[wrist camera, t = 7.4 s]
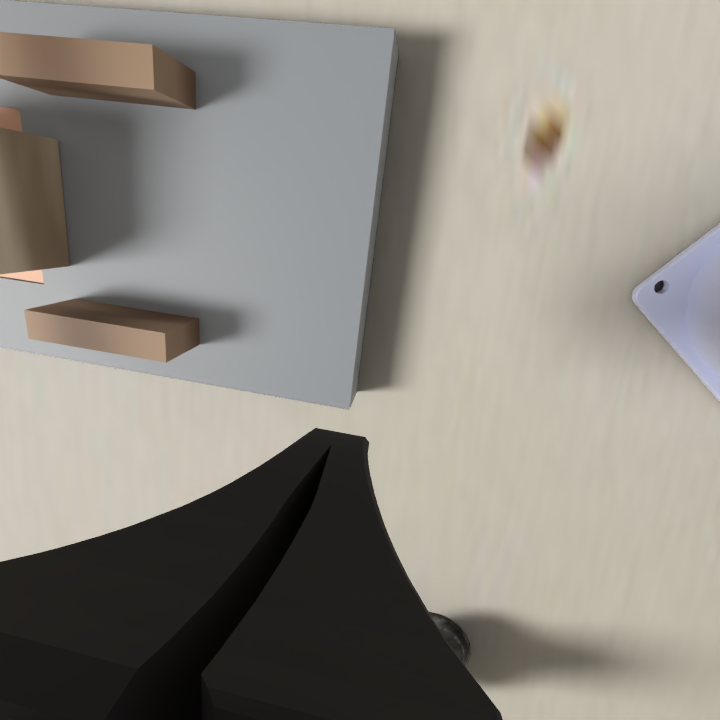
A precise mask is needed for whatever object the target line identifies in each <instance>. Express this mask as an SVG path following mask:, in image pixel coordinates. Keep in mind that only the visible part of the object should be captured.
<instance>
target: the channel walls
mask: <svg viewBox="0 0 720 720" xmlns="http://www.w3.org/2000/svg"><path fill="white" fill-rule="evenodd" d="M0 78H1V79H4V80H7V81H10V82H13V83H16V84H19V85H22V86H25V87H28V88H31V89H34V90H37V91H40V92H43V93H46V94H49V95H54V96H64V97H74V98H84V99H94V100H104V101H114V102H124V103H134V104H144V105H154V106H164V107H174V108H184V109H194V110H196V72H195V71H193V70H192V69H190V68H189V67H187V66H185V65H184V64H182V63H181V62H179V61H178V60H176V59H174V58H173V57H171V56H170V55H168V54H167V53H165V52H163V51H162V50H160V49H159V48H157V47H155V46H154V45H152V44H141V43H129V42H117V41H105V40H93V39H81V38H69V37H56V36H44V35H32V34H20V33H8V32H0ZM24 313H25V319H26V326H27V332H28V338H29V339H33V340H38V341H44V342H50V343H56V344H61V345H67V346H73V347H79V348H84V349H90V350H96V351H102V352H107V353H113V354H119V355H125V356H131V357H136V358H142V359H148V360H154V361H159V362H165V363H167V362H168V361H170V360H172V359H174V358H176V357H178V356H180V355H181V354H183V353H185V352H187V351H189V350H191V349H193V348H194V347H196V346H198V345H200V335H199V318H193V317H186V316H180V315H174V314H168V313H161V312H155V311H149V310H142V309H136V308H130V307H124V306H117V305H111V304H105V303H99V302H92V301H86V300H80V299H71V300H66V301H62V302H57V303H53V304H48V305H44V306H39V307H35V308H30V309H26V310H24Z"/></svg>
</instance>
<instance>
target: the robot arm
mask: <svg viewBox="0 0 720 720" xmlns="http://www.w3.org/2000/svg"><path fill="white" fill-rule="evenodd" d="M661 280H662V281H663V283H664V287H663V288H662V290H661V291H659V292H655V290H654V286H655V284H656V283H657V282H659V281H661ZM632 300H633V302H634V304H635V305H636V306H637V307H638V308H639V309H640V311H641V312H642V313H643V314H644V315H645V316H646V318H647V319H648V320H649V321H650V322H651V323H652V324H653V326H654V327H655V328H656V329H657V330H658V331H659V333H660V334H661V335H662V336H663V337H664V338H665V339H666V341H667V342H668V343H669V344H670V345H671V346H672V348H673V349H674V350H675V351H676V352H677V353H678V354H679V356H680V357H681V358H682V359H683V360H684V361H685V363H686V364H687V365H688V366H689V367H690V368H691V369H692V371H693V372H694V373H695V374H696V375H697V376H698V378H699V379H700V380H701V381H702V382H703V383H704V384H705V386H706V387H707V388H708V389H709V390H710V391H711V393H712V394H713V395H714V396H715V397H716V398H717V399H718V401H719V402H720V223H719V224H718V225H717V226H715V227H714V228H713V229H711V230H710V231H709V232H707V233H706V234H705V235H703V236H702V237H701V238H699V239H698V240H697V241H696V242H694V243H693V244H692V245H690V246H689V247H688V248H686V249H685V250H684V251H682V252H681V253H680V254H678V255H677V256H676V257H674V258H673V259H672V260H671V261H669V262H668V263H667V264H665V265H664V266H663V267H661V268H660V269H659V270H657V271H656V272H655V273H653V274H652V275H651V276H649V277H648V278H647V279H646V280H644V281H643V282H642V283H640V284H639V285H638V286H637V287H636V288H635V289H634V290H633V293H632ZM368 446H369V442H368V440H367V439H366V438H365V437H361V436H356V435H350V434H345V433H340V432H334V431H329V430H323V429H318V428H315V429H314V430H312V431H311V432H309V433H308V434H306V435H305V436H303V437H302V438H300V439H299V440H298V441H296V442H295V443H293V444H292V445H290V446H289V447H288V448H286V449H285V450H283V451H282V452H280V453H279V454H277V455H276V456H274V457H273V458H271V459H270V460H268V461H267V462H265V463H264V464H262V465H261V466H259V467H257V468H256V469H254V470H252V471H250V472H249V473H247V474H245V475H244V476H242V477H240V478H239V479H237V480H235V481H233V482H232V483H230V484H228V485H226V486H224V487H222V488H220V489H218V490H216V491H214V492H212V493H210V494H208V495H206V496H204V497H202V498H199V499H197V500H195V501H193V502H191V503H189V504H186V505H184V506H182V507H179V508H177V509H174V510H172V511H169V512H166V513H164V514H161V515H158V516H156V517H153V518H151V519H148V520H145V521H143V522H140V523H137V524H135V525H132V526H129V527H126V528H123V529H120V530H117V531H114V532H111V533H108V534H105V535H102V536H98V537H95V538H92V539H88V540H85V541H81V542H78V543H75V544H71V545H68V546H64V547H60V548H57V549H53V550H49V551H45V552H41V553H37V554H33V555H29V556H24V557H20V558H16V559H11V560H7V561H3V562H0V720H503V719H502V716H501V713H500V712H499V710H498V709H497V708H496V706H495V705H494V704H493V703H492V701H491V700H490V699H489V697H488V696H487V695H486V693H485V692H484V691H483V690H482V688H481V687H480V686H479V684H478V683H477V682H476V681H475V679H474V678H473V677H472V675H471V674H470V673H469V671H468V670H467V669H466V667H465V666H464V664H463V663H462V662H461V660H460V659H459V658H458V656H457V655H456V653H455V652H454V651H453V649H452V648H451V646H450V645H449V643H448V642H447V640H446V639H445V637H444V636H443V634H442V633H441V631H440V630H439V628H438V627H437V625H436V624H435V622H434V621H433V619H432V617H431V616H430V614H429V612H428V610H427V609H426V607H425V605H424V604H423V602H422V600H421V598H420V597H419V595H418V593H417V592H416V590H415V588H414V586H413V585H412V583H411V581H410V580H409V578H408V576H407V574H406V572H405V570H404V568H403V566H402V564H401V562H400V560H399V558H398V556H397V554H396V551H395V549H394V547H393V544H392V542H391V540H390V538H389V535H388V533H387V530H386V528H385V525H384V522H383V519H382V516H381V513H380V510H379V507H378V504H377V501H376V497H375V494H374V490H373V486H372V481H371V477H370V472H369V465H368Z"/></svg>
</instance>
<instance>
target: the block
mask: <svg viewBox="0 0 720 720" xmlns="http://www.w3.org/2000/svg"><path fill="white" fill-rule="evenodd" d="M68 266H70V261H69V250H68V240H67V229H66V219H65V208H64V197H63V187H62V176H61V166H60V155H59V144H58V140H57V139H52V138H47V137H43V136H38V135H33V134H29V133H24V132H19V131H15V130H10V129H5V128H1V127H0V274H9V273H17V272H26V271H34V270H42V269H51V268H59V267H68Z"/></svg>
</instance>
